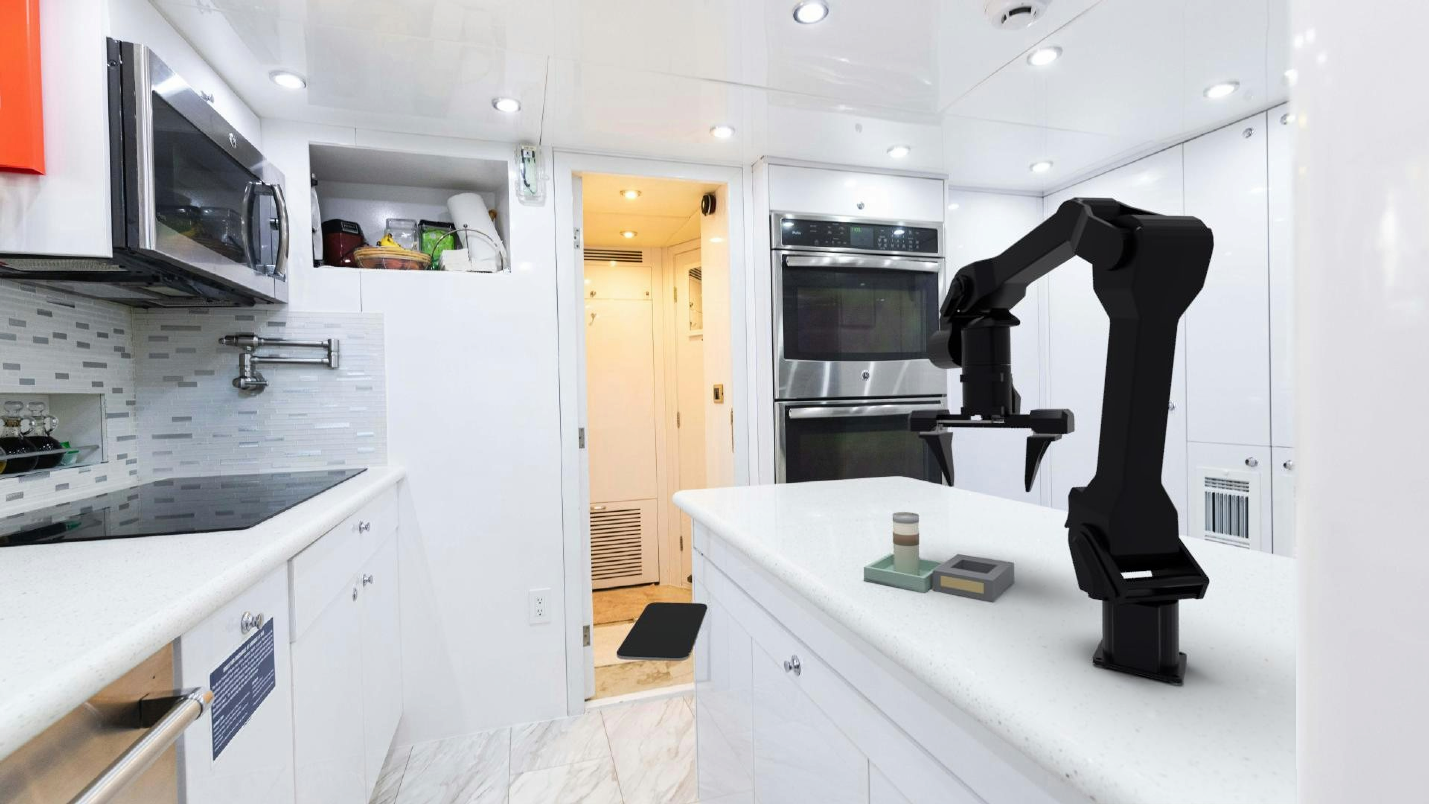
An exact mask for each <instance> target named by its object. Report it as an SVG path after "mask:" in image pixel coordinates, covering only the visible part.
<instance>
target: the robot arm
mask: <svg viewBox="0 0 1429 804" xmlns="http://www.w3.org/2000/svg"><path fill="white" fill-rule="evenodd" d="M1213 233H1214V232H1213V230H1212V228H1211V227H1208V226H1207V225H1206V224H1205V223H1204V221H1203V220H1201V219H1200V218H1198V217H1196V216H1193V215H1166V214H1162V213H1160V212H1159V213H1158V212H1154V211H1150V210H1146V209H1143V208H1140V207H1139V208H1138V207H1134V206H1131V205H1129V204H1127V203H1125V202H1121V201H1119V200H1116V199H1115V198H1113V197H1082V196H1081V197H1079V196H1078V197H1076V196H1074V197H1071V198H1070V199H1067V200H1065V201H1063V202H1062V203H1060V205H1059V206H1058V208H1057V210H1056V212H1055V213H1053V214H1052V215H1050V216H1049V217H1048V218H1046V219H1045V220H1044V221H1043V222H1041V223H1040V224H1039V225H1037V226H1036V227H1035V228H1033V229H1031V231H1029V232H1028V233H1026V234H1025V235H1024V236H1022V237H1021V238H1019V239H1018V240H1017V241H1015V242H1014V243H1013V244H1011V246H1008V247H1007V248H1006V249H1005V250H1004V251H1002V252H1001V253H999V254H997V255H995V256H993V257H988V258H984V259H980V260H976V261H973V262H970V263H968V264H966V265H964V266H962V267H960V268H959V269H958V270H957V272H956V273H955V274H954V276H953V278H952V280H951V282H950V284H949V286H948V291H947V293H946V296H945V297H944V300H943V302H942V304H941V307H940V309H939V314H940V316H939V319H938V323H939V325H938V326H939V329H938V330H937V331H935V332H934V333H933V334H932V335H931V336H930V337H929V340H928V342H927V344H926V356H927V358H928V360H929V361H930V363H931V364H932V365H933V366H935V367H936V368H939V369H942V370H949V369H950V370H952V369H961V374H959V383H961V385H962V389H961V393H962V396H961V397H962V406H960V413H950V409H948V408H947V409H946V408H944V409H943V408H941V409H940V408H939V409H937V408H935V409H932V408H930V409H929V408H928V409H925V408H924V409H915V410H912V411H911V412H910V413H909V414H908V417H907V432H914V433H915V432H917V433H918V434H917V438H918V439H923V440H924V441H925V442H926V443H927V445H928V447H929V449H930V450H931V452H932V454H933V455H934V457H935V460H936V462H937V463H938V466H939V467H940V470H941V473H942V474H943V478H944V479H945V481H946V483H947V486H948V487H949V488H952V487H955V467H954V466H955V465H954V456H953V437H954V431H947V430H948V428H960V429H962V428H966V429H969V428H972V429H973V428H975V429H977V428H978V429H979V428H981V429H1031V430H1030V432H1032V435H1031V434H1030V435H1028V436H1026V442H1025V443H1026V444H1025V445H1026V446H1025V461H1024V462H1025V463H1024V464H1025V465H1024V466H1025V467H1024V488H1025V493H1031V491H1032V488H1033V486H1034V483H1035V481H1036V476H1038V475H1037V474H1038V472H1039V468H1040V466H1041V463H1042V460H1043V458H1044V455H1045V454H1046V453H1047V450H1048V448H1049V447H1050V445H1051V443H1052V442H1054V443H1055V442H1057V441H1060V440H1062V439H1063V435H1069V434H1071V433H1074V432H1075V430H1076V429H1075V422H1076V421H1075V414H1074V412H1072V410H1070V408H1035V409H1030V412H1029V413H1021V405H1022V397H1021V395H1020V393H1019V392H1018V391H1017V389H1016V388H1015V385H1014V378H1013V373H1012V354H1011V353H1012V352H1011V351H1012V349H1011V348H1012V347H1011V344H1012V341H1011V328H1014V327H1019V326H1020V325H1021V320H1020V319H1019V318H1018V317H1017V316H1016V315H1014V314H1013V313H1011V310H1012V309H1013V308H1014V307H1015V306H1017V305H1018V304H1019V303H1020V302H1021V301H1022V300H1023V299H1025V298H1026V296H1027V295H1026V294H1027V288H1028V287H1029V286H1030V285H1031V284H1032V283H1034V282H1035V281H1037V280H1039V279H1040V278H1041V277H1043V276H1045V275H1047V274H1048V273H1050V272H1052V271H1053V270H1054V269H1057V268H1058V267H1059V266H1062V265H1063V264H1065V263H1067V261H1069V260H1071V259H1073V258H1074V257H1076V256H1077V257H1078V258H1081V259H1082V260H1084V261H1086V263H1087V262H1088V263H1089V264H1090V265H1091V269H1092V273H1091V274H1092V289H1093V292H1094V293H1095V295H1096V297H1097V299H1098V301H1099V303H1100V305H1101V306H1102V307H1103V310H1104V311H1105V313H1106V315H1107V317H1108V319H1109V328H1108V338H1107V339H1108V340H1107V341H1108V342H1107V349H1106V350H1107V352H1106V359H1105V360H1106V361H1105V373H1104V382H1103V383H1104V385H1103V393H1102V405H1101V406H1102V407H1101V417H1100V428H1099V440H1098V449H1097V450H1098V451H1097V460H1096V471H1095V474H1094V476H1093V477H1092V479H1091V480H1090V481H1089V483H1088V484H1086V486H1073V487H1071V488H1070V490H1069V493H1068V495H1067V506H1068V508H1067V509H1068V510H1067V511H1068V512H1067V517H1066V520H1065V522H1064V529H1068V532H1067V543H1068V550H1069V551H1070V552H1069V553H1070V556H1071V560H1072V565H1073V569H1074V573H1075V577H1076V581H1077V585H1078V589H1079V590H1080V591H1082V592H1085V593H1086V594H1087V598H1090V599H1092V600H1095V601H1101V609H1102V610H1101V611H1102V612H1101V613H1102V614H1101V618H1102V619H1101V622H1102V624H1101V628H1102V629H1101V630H1102V631H1101V633H1102V636H1101V637H1102V638H1101V640H1100V642H1099V643H1098V646H1097V648H1096V650H1095V652H1094V654H1093V655H1092V663H1093V665H1096V666H1101V667H1105V668H1107V669H1108V668H1109V669H1113V670H1117V671H1121V672H1126V673H1129V674H1134V675H1138V676H1143V677H1147V678H1151V679H1155V680H1160V681H1163V682H1168V683H1173V684H1176V685H1178V684H1179V685H1180V684H1183V682H1184V677H1185V673H1186V672H1185V671H1186V667H1187V666H1186V665H1187V661H1188V660H1187V659H1188V656H1187V653H1185V652H1183V651H1180V600H1181V601H1182V600H1191V599H1192V600H1193V599H1194V600H1203V599H1204V598H1205V595H1206V593H1207V590H1208V587H1209V584H1210V582H1211V581H1210V578H1209V576H1208V575H1207V574H1206V572H1205V571H1204V569H1203V568H1202V566H1201V565H1200V564H1199V562H1198V561H1197V559H1196V558H1195V557H1194V556H1193V553H1191V552H1190V549H1188V547H1187V546H1186V545H1185V543H1184V541H1182V539H1181V538H1180V531H1179V530H1180V529H1179V512H1178V509H1177V508H1176V506H1175V504H1174V503H1173V501H1172V498H1171V497H1170V495H1169V494H1168V492H1167V490H1166V488H1165V487H1164V485H1163V482H1162V476H1163V475H1162V474H1163V467H1164V458H1165V448H1166V438H1167V429H1168V428H1167V427H1168V419H1169V409H1170V400H1171V399H1170V398H1171V392H1172V391H1171V390H1172V381H1173V372H1174V365H1175V364H1174V362H1175V353H1176V347H1177V346H1176V343H1177V336H1178V335H1177V334H1178V325H1179V321H1180V319H1181V318H1182V316H1183V315H1184V314H1185V313H1186V311H1187V310H1188V308H1190V306H1191V305H1192V303H1193V302H1194V301H1195V299H1196V298H1197V297H1198V295H1199V294H1200V292H1201V291H1202V290H1203V288H1204V287H1205V282H1206V278H1207V275H1208V271H1209V268H1210V263H1211V261H1212V256H1213V253H1214V247H1215V241H1214V239H1215V236H1214V234H1213ZM976 416H980V418H981V419H972V417H976ZM1138 572H1139V573H1140V572H1142V573H1143V572H1150V573H1151V575H1150V576H1139V577H1124V576H1123V574H1125V573H1126V574H1127V573H1138Z"/></svg>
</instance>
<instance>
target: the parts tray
mask: <svg viewBox="0 0 1429 804" xmlns="http://www.w3.org/2000/svg"><path fill="white" fill-rule="evenodd" d="M945 562H946V561H945ZM945 562H944V561H939V560H932V559H926V558H920V557H919V575H920V576H917V575H911V574H906V573H900V572H895V571H894V553H891V552H890V553H888V554H886V555H884V556H882V557H880V558H879V559H877V560H874V561H872V562H870V563H869V564H867V565H865V566H864V567H863V581H864V582H869V583H874V584H877V585H878V584H879V585H884V586H888V587H892V588H898V589H904V590H908V591H915V592H920V593H924V594H925V593H926V592H928V591H929V590H931V589H933V570H934V569H935V568H937V567H939V566H940V565H942V564H943V563H945Z"/></svg>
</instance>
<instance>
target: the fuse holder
mask: <svg viewBox="0 0 1429 804" xmlns="http://www.w3.org/2000/svg"><path fill="white" fill-rule="evenodd" d="M1014 583H1015V562H1013V561H1006V560H1000V559H994V558H986V557H980V556H972V555H967V554H961V553H957V554H955V555H954V556H952V557H951V558H950V559H947V560H946V561H945V563H943V564H942V565H940V566H939V567H937V568H935V569H934V570H933V587H932V591H935V592H941V593H945V594H949V595H955V596H959V597H960V596H961V597H965V598H970V599H976V600H981V601H984V602H985V601H986V602H992V603H993V602H995V601H996V600H997V599H998V598H999V597H1000V596H1001V595H1003V593H1004V592H1005V591H1006V590H1008V589H1009V588H1010V587H1011V586H1012V585H1013V584H1014Z"/></svg>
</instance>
